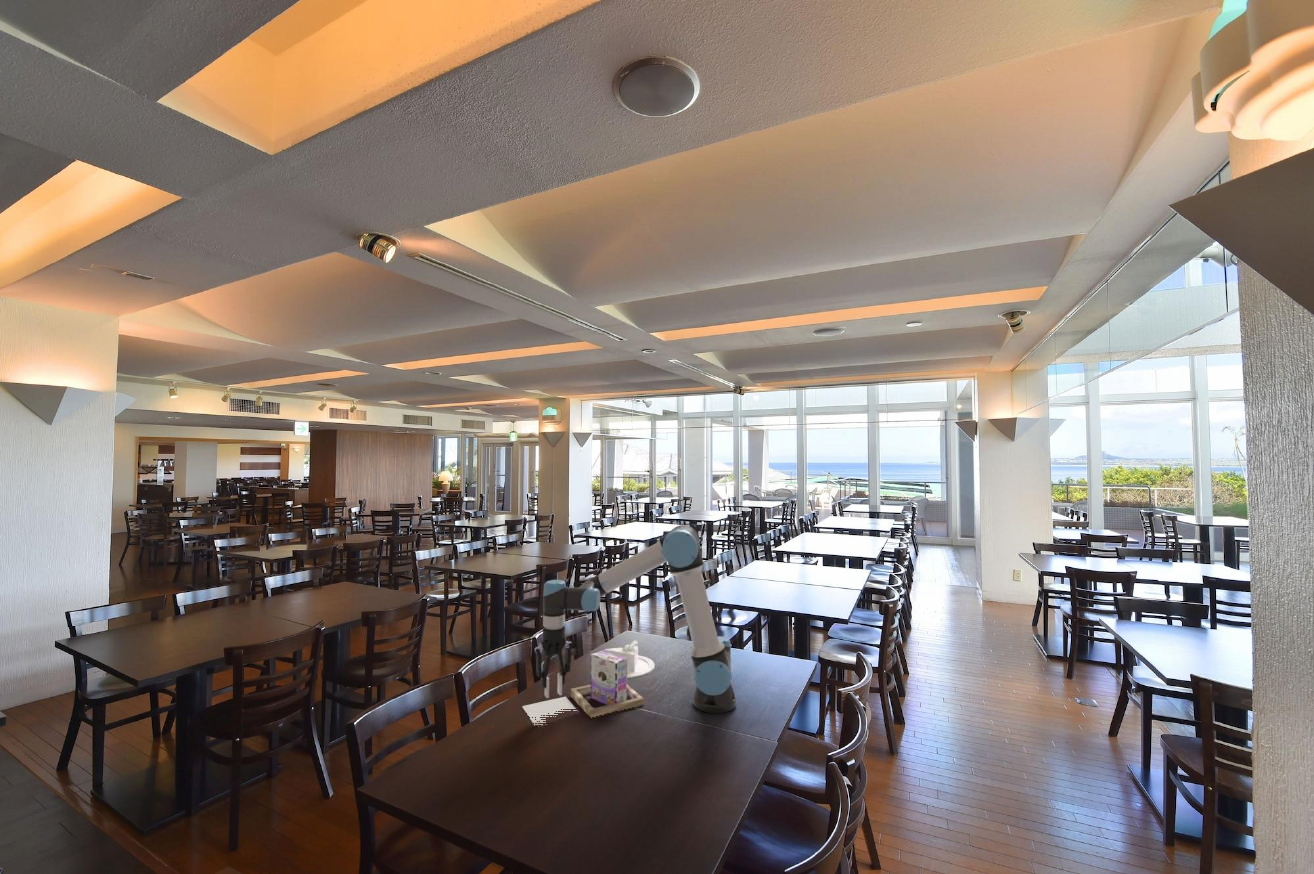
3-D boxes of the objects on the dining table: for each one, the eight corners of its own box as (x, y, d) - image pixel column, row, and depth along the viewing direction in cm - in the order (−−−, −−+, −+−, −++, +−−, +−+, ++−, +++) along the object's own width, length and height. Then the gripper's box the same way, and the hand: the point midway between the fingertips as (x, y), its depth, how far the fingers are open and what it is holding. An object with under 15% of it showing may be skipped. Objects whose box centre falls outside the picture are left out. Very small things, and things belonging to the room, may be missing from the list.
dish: (657, 658, 236) (657, 632, 237) (651, 681, 211) (651, 652, 212) (602, 655, 239) (602, 630, 239) (590, 678, 214) (590, 650, 214)
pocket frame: (643, 706, 189) (643, 698, 189) (591, 720, 179) (591, 711, 179) (619, 685, 206) (619, 678, 206) (570, 696, 197) (570, 688, 197)
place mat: (585, 721, 178) (585, 719, 178) (538, 733, 170) (538, 731, 170) (565, 698, 196) (565, 696, 196) (522, 707, 188) (522, 706, 188)
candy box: (627, 705, 190) (627, 658, 191) (615, 710, 186) (616, 663, 187) (601, 693, 200) (602, 649, 200) (589, 698, 195) (590, 653, 196)
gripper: (573, 619, 192) (572, 685, 191) (526, 626, 183) (525, 695, 182) (581, 625, 185) (580, 694, 184) (532, 633, 177) (531, 704, 176)
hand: (553, 694), depth 183 cm, fingers open, 4 cm apart
